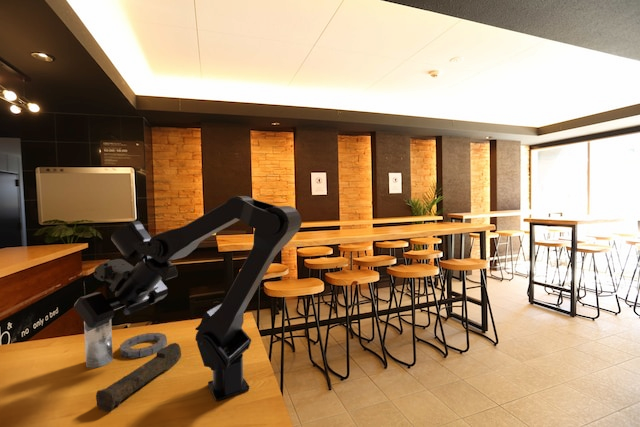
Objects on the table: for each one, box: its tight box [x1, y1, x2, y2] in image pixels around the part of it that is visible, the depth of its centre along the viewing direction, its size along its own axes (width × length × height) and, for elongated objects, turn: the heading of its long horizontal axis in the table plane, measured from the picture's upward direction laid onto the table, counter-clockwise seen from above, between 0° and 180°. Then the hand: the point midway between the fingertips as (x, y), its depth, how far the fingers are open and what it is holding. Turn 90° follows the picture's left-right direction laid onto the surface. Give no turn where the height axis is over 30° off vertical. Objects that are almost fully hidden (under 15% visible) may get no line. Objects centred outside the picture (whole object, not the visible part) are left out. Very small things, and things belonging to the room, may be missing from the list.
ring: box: [119, 332, 168, 359], centre depth 77 cm, size 10×10×2 cm
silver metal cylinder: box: [83, 319, 114, 369], centre depth 70 cm, size 5×5×13 cm
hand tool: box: [95, 342, 182, 412], centre depth 63 cm, size 19×4×5 cm, turn 161°
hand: (107, 320), depth 69 cm, fingers open, 9 cm apart
